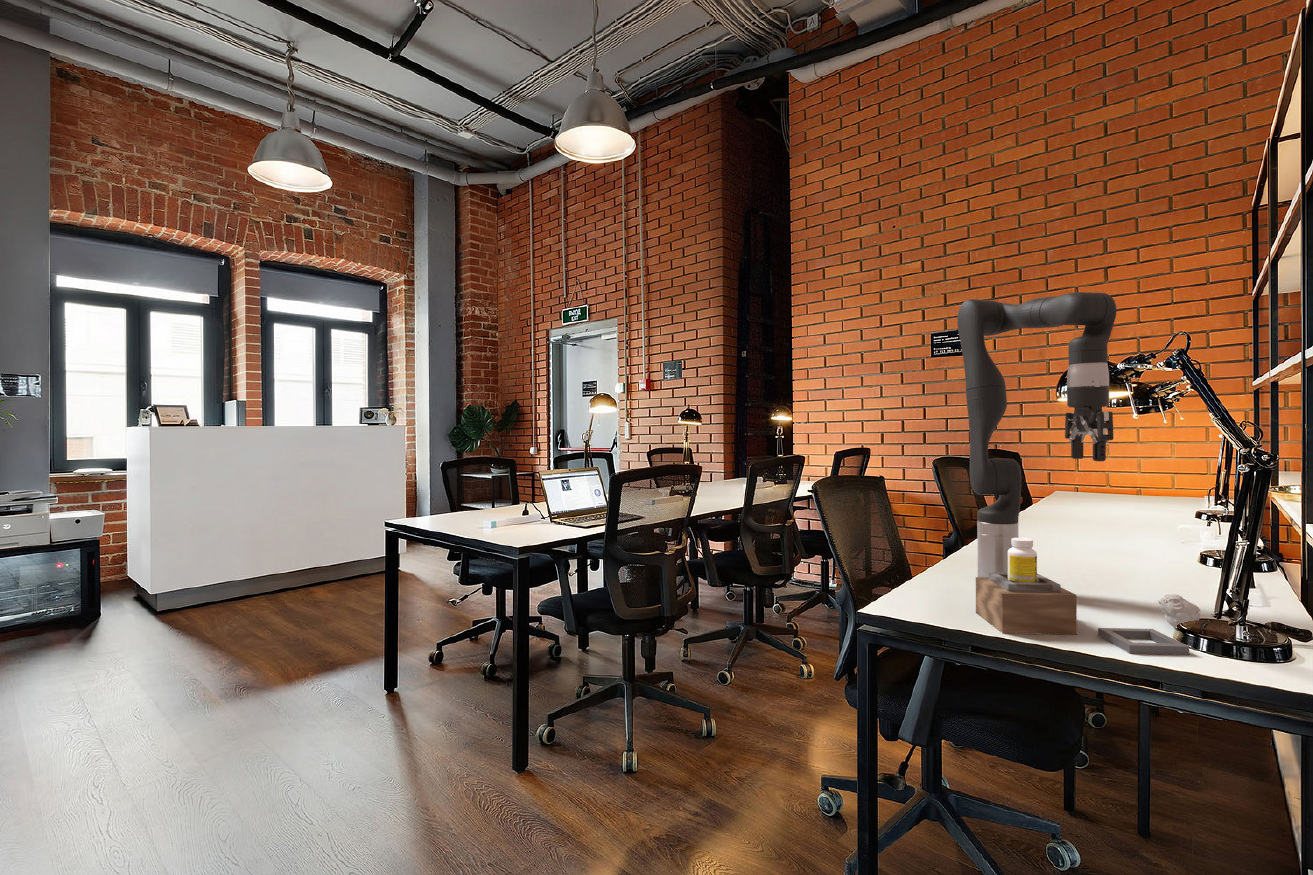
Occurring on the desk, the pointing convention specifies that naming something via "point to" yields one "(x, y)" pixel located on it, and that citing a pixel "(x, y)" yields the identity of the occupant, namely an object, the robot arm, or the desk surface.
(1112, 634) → the frame
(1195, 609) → the frog figurine
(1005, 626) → the walnut stand
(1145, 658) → the desk surface
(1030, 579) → the supplement bottle
